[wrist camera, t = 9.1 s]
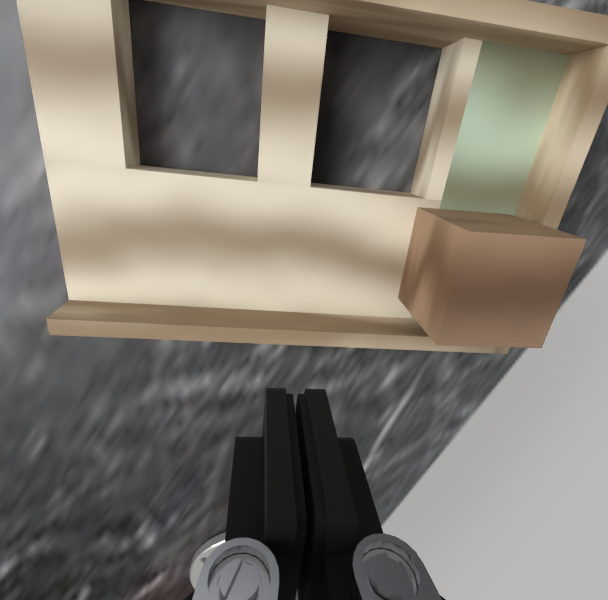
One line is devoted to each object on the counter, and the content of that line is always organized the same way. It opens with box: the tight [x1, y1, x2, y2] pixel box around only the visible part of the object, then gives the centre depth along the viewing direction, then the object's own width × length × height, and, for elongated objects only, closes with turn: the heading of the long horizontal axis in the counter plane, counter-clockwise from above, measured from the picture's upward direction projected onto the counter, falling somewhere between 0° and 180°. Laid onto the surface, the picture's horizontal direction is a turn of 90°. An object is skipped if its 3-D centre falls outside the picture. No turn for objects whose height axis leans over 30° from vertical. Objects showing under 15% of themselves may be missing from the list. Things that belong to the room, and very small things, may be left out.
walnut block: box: [398, 207, 587, 348], centre depth 20 cm, size 6×6×6 cm
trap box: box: [16, 0, 608, 354], centre depth 20 cm, size 18×28×5 cm, turn 84°
